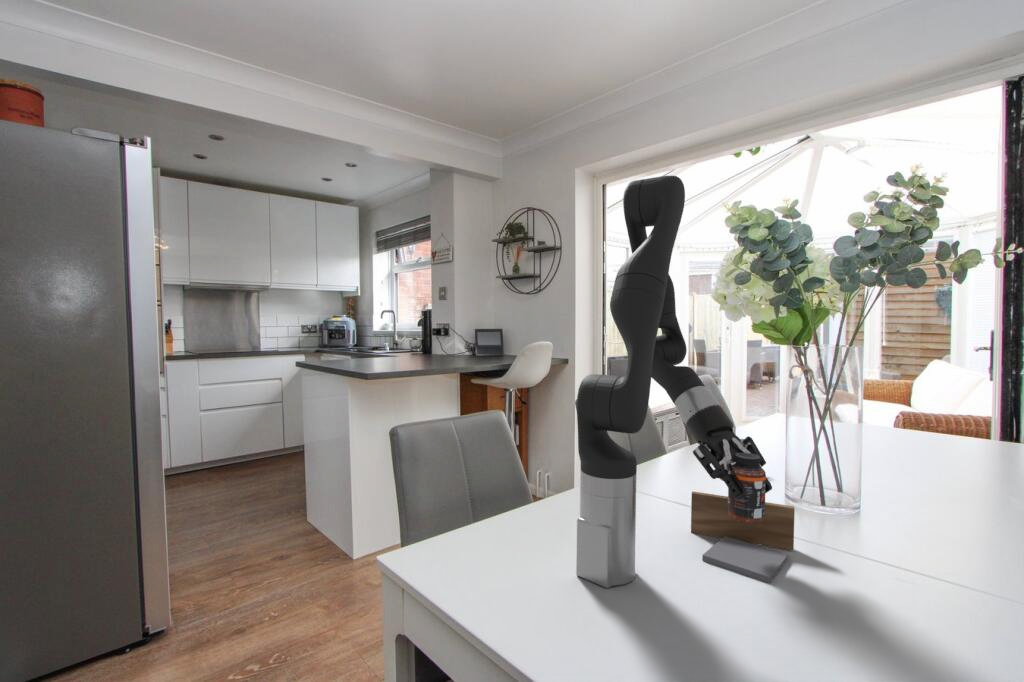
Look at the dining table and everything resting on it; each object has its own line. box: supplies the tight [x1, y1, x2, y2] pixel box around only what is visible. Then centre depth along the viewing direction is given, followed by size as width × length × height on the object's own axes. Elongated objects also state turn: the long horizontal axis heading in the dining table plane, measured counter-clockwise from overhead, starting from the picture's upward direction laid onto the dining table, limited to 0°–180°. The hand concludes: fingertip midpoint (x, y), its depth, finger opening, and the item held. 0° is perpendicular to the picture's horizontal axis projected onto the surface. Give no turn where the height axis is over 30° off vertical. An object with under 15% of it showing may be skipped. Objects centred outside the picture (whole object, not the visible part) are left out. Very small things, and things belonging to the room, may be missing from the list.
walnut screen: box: [690, 491, 796, 552], centre depth 94 cm, size 1×18×8 cm, turn 64°
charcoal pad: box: [702, 536, 789, 584], centre depth 86 cm, size 11×11×1 cm
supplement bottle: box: [727, 453, 767, 523], centre depth 86 cm, size 6×6×11 cm
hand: (755, 493), depth 85 cm, fingers closed on supplement bottle, 6 cm apart
